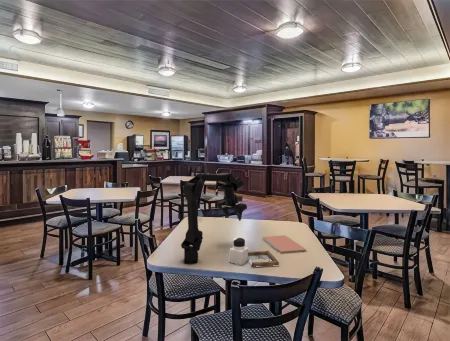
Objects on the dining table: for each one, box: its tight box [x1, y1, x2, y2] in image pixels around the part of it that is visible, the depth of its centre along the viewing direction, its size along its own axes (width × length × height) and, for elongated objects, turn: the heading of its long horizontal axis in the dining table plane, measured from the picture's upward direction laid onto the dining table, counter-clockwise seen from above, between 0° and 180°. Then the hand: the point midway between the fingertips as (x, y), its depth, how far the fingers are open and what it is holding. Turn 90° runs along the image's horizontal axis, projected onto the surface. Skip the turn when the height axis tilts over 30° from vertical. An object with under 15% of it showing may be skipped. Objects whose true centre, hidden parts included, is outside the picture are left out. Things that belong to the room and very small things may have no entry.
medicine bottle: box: [228, 237, 249, 266], centre depth 148 cm, size 7×7×12 cm
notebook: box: [261, 234, 307, 254], centre depth 176 cm, size 27×17×2 cm, turn 14°
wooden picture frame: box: [247, 250, 280, 268], centre depth 151 cm, size 14×16×2 cm
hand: (234, 219), depth 170 cm, fingers open, 9 cm apart
